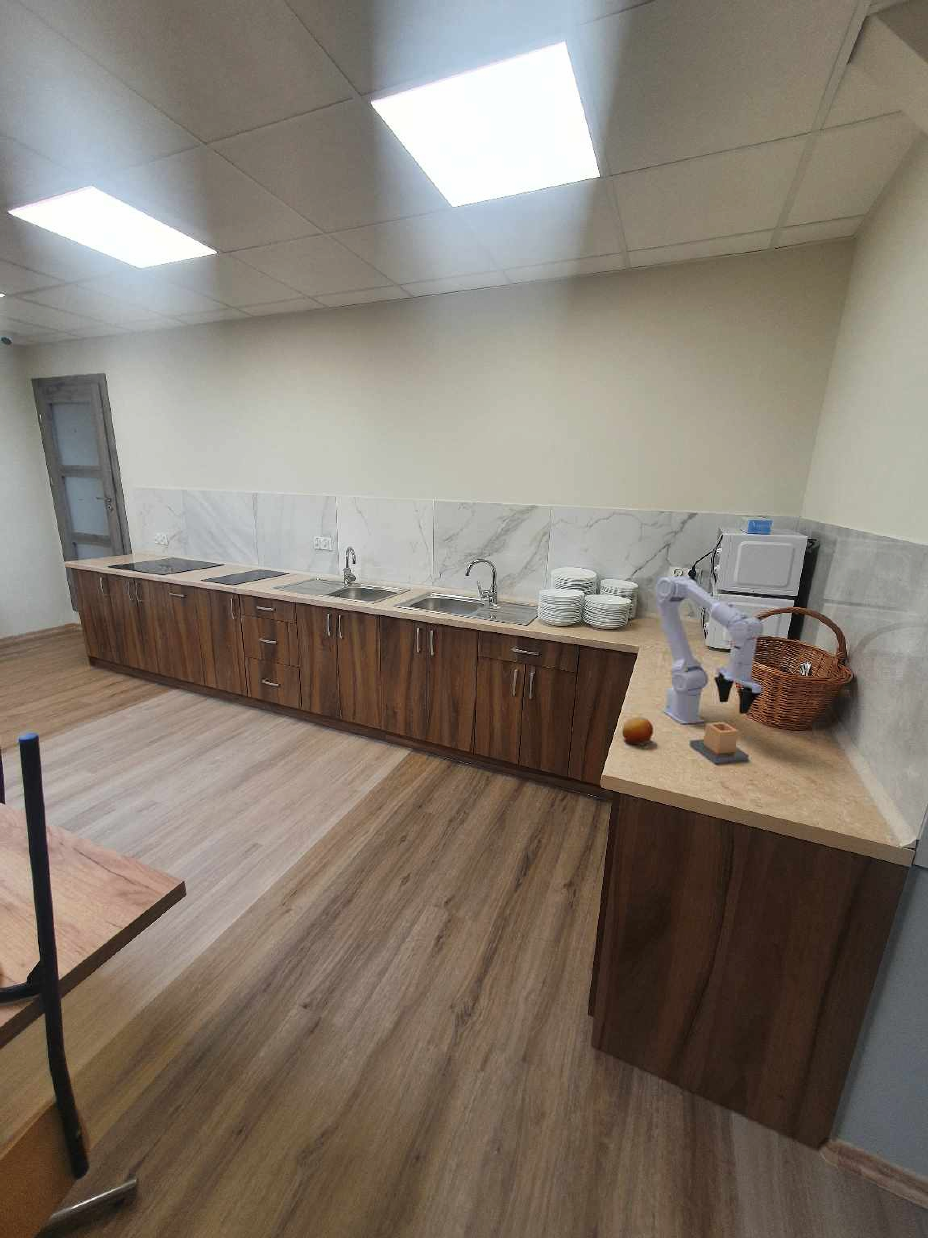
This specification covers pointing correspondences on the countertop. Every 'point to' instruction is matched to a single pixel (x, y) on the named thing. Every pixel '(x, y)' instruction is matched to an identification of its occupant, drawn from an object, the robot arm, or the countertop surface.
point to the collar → (720, 737)
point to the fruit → (637, 731)
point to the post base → (718, 758)
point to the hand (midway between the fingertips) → (733, 707)
